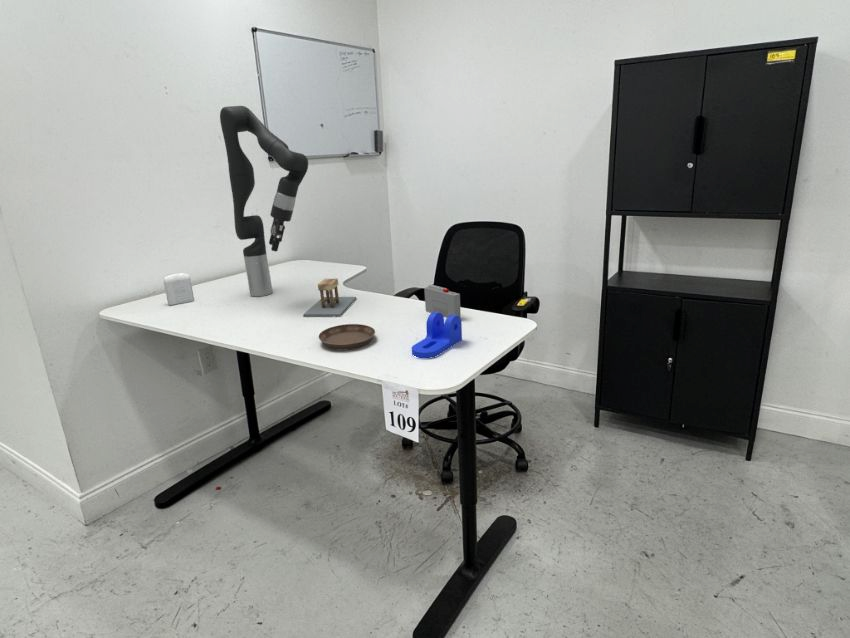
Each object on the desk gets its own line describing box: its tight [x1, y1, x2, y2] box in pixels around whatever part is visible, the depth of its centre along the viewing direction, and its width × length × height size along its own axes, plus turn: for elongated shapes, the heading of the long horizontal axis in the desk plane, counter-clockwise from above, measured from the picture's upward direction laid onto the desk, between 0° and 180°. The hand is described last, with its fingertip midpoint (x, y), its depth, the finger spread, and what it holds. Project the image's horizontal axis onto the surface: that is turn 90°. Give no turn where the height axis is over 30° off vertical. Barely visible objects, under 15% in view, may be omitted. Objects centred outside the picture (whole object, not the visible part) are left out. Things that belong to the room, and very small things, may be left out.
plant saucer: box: [318, 323, 376, 351], centre depth 165 cm, size 18×18×3 cm
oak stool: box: [317, 278, 339, 308], centre depth 199 cm, size 5×8×9 cm, turn 172°
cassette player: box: [423, 284, 462, 319], centre depth 184 cm, size 16×3×10 cm, turn 40°
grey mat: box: [302, 296, 357, 318], centre depth 201 cm, size 22×14×1 cm, turn 171°
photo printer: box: [163, 272, 195, 306], centre depth 217 cm, size 10×4×12 cm, turn 123°
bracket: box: [411, 312, 463, 359], centre depth 155 cm, size 18×8×9 cm, turn 147°
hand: (272, 247), depth 198 cm, fingers open, 8 cm apart
